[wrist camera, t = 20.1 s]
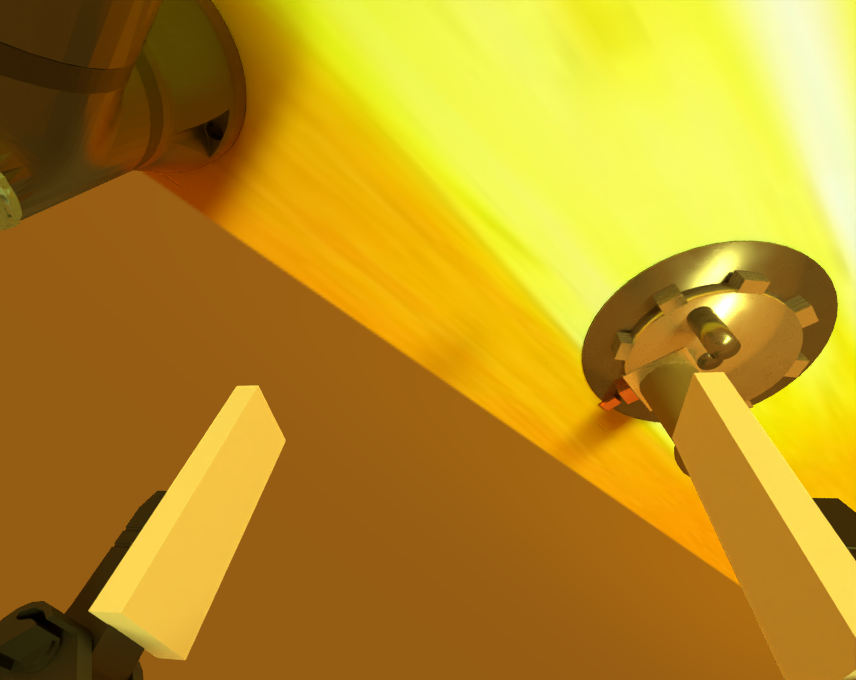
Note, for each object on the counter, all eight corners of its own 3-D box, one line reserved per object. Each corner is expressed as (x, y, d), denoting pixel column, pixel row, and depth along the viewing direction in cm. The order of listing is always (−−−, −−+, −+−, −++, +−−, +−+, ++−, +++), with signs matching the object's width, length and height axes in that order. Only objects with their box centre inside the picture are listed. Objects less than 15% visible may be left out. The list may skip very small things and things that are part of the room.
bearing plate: (574, 423, 54) (575, 426, 53) (594, 250, 40) (596, 253, 39) (782, 420, 50) (785, 424, 50) (887, 230, 36) (892, 232, 36)
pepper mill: (713, 368, 43) (772, 455, 35) (683, 408, 47) (730, 496, 38) (655, 358, 43) (700, 443, 34) (630, 399, 47) (665, 485, 38)
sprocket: (631, 425, 52) (649, 473, 47) (587, 313, 43) (603, 356, 38) (809, 381, 46) (854, 431, 40) (802, 237, 37) (860, 276, 31)
